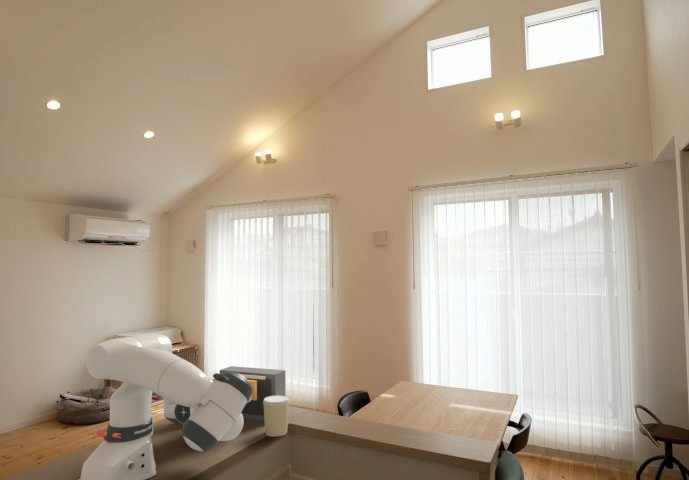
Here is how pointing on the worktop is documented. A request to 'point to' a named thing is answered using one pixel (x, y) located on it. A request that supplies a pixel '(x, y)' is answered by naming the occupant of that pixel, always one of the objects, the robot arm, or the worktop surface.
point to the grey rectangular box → (260, 388)
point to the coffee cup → (276, 415)
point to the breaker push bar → (254, 389)
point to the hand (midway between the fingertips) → (237, 389)
